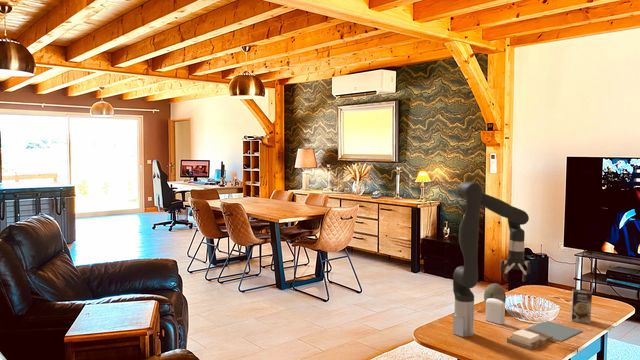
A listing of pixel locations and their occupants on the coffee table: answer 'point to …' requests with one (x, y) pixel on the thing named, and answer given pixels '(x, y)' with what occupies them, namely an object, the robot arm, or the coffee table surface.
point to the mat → (555, 330)
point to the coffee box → (581, 306)
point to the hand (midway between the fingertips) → (514, 280)
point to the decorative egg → (494, 292)
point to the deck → (542, 340)
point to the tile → (525, 336)
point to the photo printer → (495, 311)
